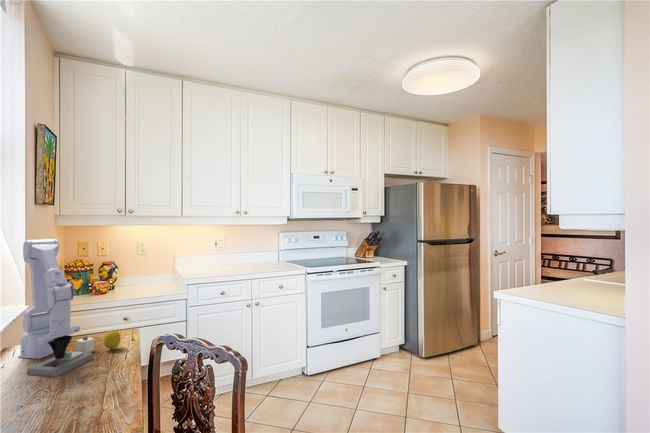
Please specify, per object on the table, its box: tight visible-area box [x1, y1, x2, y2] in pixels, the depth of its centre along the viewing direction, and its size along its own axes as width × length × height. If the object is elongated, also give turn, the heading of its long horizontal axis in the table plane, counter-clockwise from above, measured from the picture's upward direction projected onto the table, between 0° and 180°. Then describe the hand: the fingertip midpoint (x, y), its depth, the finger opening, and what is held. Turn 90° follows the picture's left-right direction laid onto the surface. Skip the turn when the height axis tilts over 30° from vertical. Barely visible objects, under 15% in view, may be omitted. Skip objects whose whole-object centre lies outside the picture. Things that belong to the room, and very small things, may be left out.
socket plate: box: [26, 352, 94, 378], centre depth 121 cm, size 11×15×2 cm
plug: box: [75, 336, 95, 353], centre depth 134 cm, size 4×4×6 cm
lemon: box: [103, 329, 121, 351], centre depth 137 cm, size 6×6×8 cm
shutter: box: [58, 350, 84, 360], centre depth 125 cm, size 6×6×3 cm
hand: (59, 358), depth 121 cm, fingers closed
